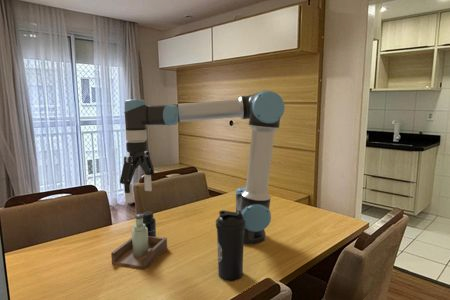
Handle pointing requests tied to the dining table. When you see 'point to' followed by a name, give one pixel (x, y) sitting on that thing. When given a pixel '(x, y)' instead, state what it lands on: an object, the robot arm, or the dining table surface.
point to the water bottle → (230, 244)
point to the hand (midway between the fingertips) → (139, 195)
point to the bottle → (140, 237)
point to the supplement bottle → (149, 223)
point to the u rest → (126, 258)
